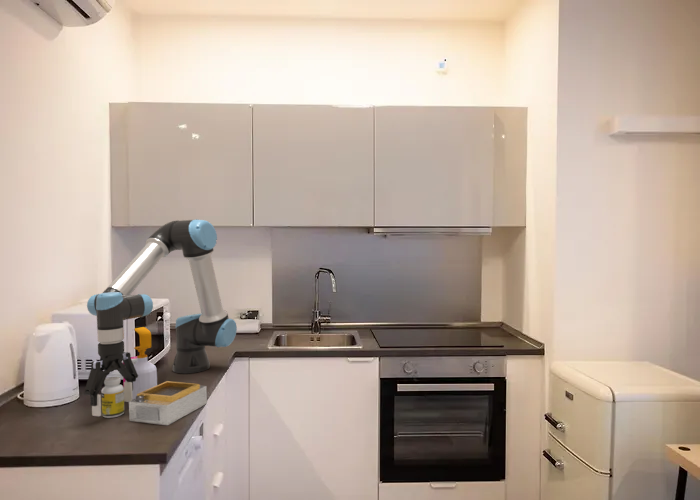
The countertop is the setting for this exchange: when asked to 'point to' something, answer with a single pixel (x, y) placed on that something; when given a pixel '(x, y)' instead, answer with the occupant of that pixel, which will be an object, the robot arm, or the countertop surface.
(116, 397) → the pill bottle
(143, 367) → the spray bottle
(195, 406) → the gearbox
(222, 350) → the countertop surface
